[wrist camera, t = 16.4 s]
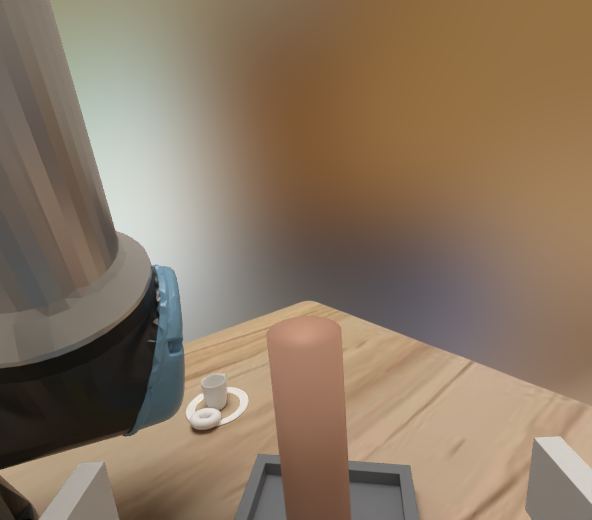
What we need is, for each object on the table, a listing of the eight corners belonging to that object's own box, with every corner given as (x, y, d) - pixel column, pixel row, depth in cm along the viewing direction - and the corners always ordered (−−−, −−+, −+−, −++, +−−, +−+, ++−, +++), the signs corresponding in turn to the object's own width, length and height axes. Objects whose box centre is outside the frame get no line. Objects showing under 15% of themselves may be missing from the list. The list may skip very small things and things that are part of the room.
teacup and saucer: (206, 444, 39) (201, 413, 39) (168, 417, 44) (162, 389, 44) (261, 402, 46) (258, 375, 45) (222, 383, 51) (219, 358, 50)
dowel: (286, 595, 23) (257, 348, 19) (297, 530, 27) (276, 316, 23) (353, 605, 22) (338, 350, 18) (354, 536, 27) (343, 316, 22)
